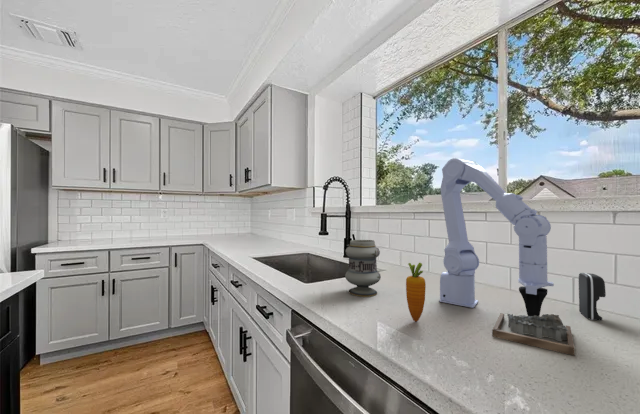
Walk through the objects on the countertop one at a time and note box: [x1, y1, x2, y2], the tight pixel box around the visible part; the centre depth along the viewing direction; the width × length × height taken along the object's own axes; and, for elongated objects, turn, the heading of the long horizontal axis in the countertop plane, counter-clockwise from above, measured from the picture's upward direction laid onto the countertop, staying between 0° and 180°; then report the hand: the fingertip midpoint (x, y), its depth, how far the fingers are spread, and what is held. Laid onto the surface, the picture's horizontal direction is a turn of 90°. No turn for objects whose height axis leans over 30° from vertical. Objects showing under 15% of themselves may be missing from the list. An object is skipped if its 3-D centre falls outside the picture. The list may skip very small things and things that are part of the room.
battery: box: [578, 272, 607, 321], centre depth 76 cm, size 7×4×11 cm, turn 153°
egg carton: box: [507, 313, 568, 342], centre depth 66 cm, size 11×8×4 cm
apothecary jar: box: [344, 239, 381, 298], centre depth 98 cm, size 12×12×18 cm
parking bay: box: [491, 312, 576, 357], centre depth 64 cm, size 14×14×2 cm
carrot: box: [405, 262, 426, 323], centre depth 71 cm, size 5×5×15 cm
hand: (533, 317), depth 71 cm, fingers closed
